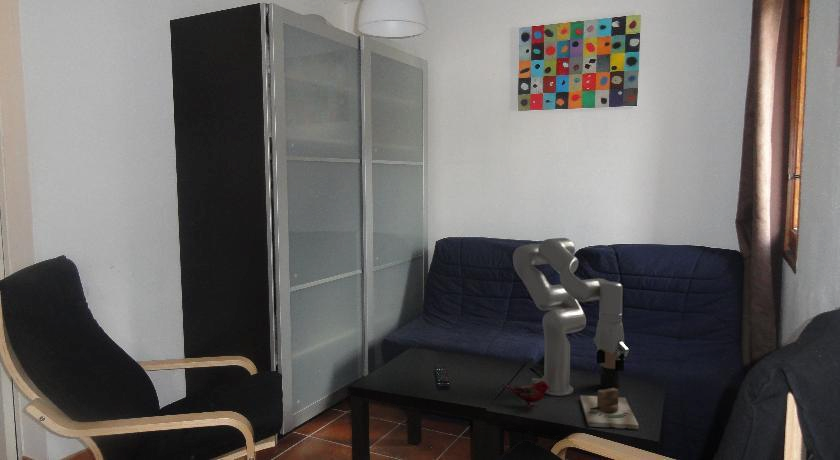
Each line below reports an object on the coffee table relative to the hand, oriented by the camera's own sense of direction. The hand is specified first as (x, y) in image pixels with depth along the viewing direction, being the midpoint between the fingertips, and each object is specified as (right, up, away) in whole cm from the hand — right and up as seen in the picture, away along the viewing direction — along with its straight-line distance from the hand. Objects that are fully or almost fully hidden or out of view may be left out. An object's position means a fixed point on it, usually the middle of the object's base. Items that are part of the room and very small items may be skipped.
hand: (609, 366), depth 205 cm
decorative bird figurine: (-28, -16, +9) cm, 33 cm away
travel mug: (+9, -15, +28) cm, 33 cm away
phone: (-13, -13, +44) cm, 48 cm away
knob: (-2, -15, +1) cm, 15 cm away
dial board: (0, -17, +2) cm, 17 cm away
